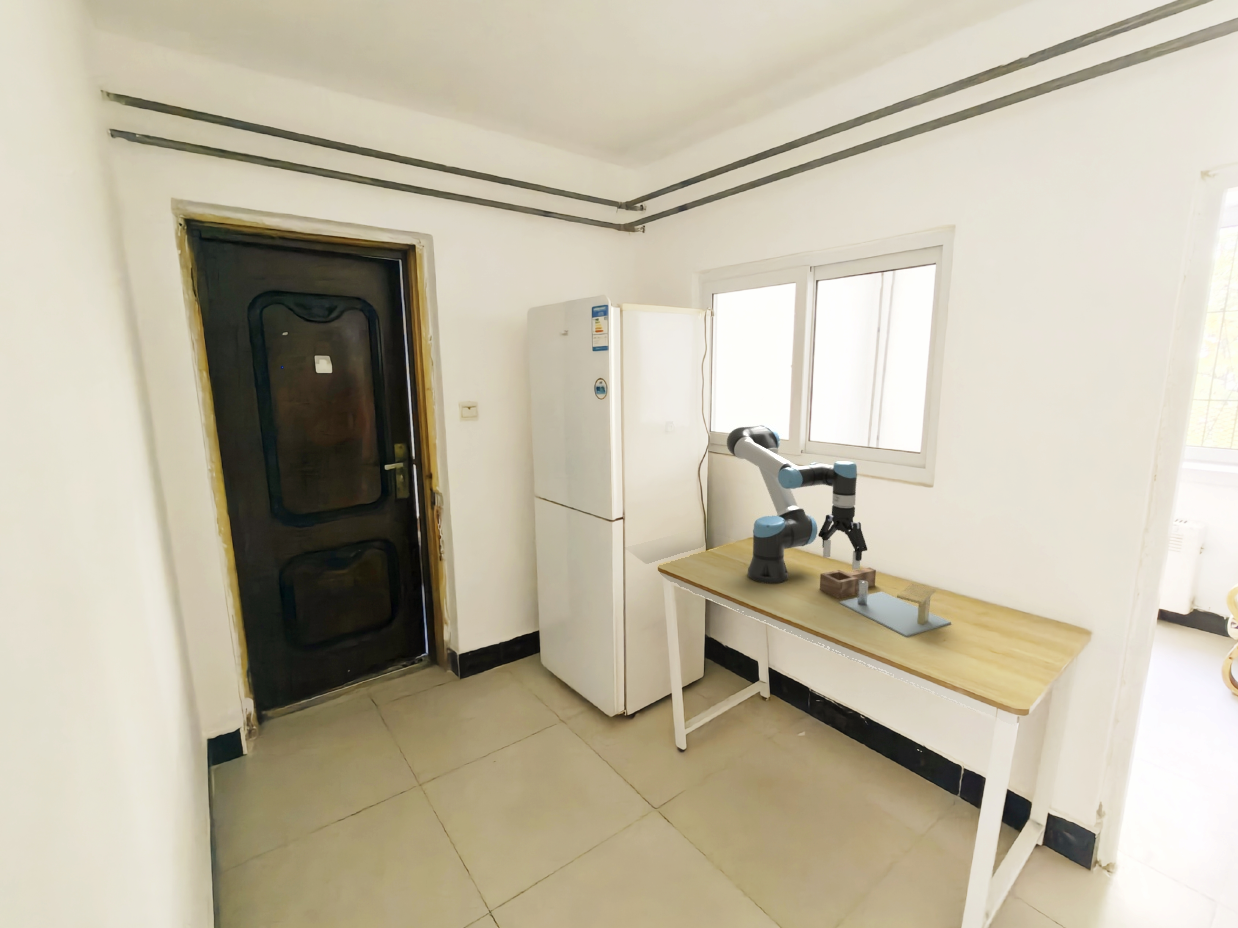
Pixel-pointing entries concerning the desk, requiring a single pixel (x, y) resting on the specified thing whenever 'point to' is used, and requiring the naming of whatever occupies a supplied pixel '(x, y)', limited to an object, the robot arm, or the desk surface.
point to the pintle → (862, 592)
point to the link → (845, 581)
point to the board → (894, 614)
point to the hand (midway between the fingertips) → (840, 562)
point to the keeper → (918, 600)
